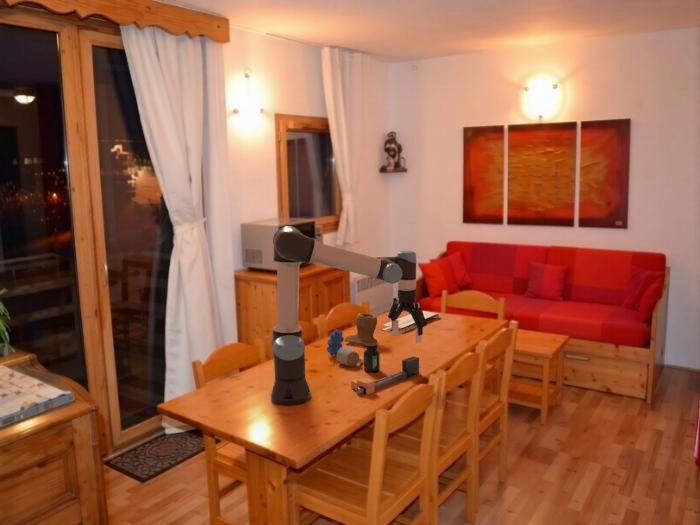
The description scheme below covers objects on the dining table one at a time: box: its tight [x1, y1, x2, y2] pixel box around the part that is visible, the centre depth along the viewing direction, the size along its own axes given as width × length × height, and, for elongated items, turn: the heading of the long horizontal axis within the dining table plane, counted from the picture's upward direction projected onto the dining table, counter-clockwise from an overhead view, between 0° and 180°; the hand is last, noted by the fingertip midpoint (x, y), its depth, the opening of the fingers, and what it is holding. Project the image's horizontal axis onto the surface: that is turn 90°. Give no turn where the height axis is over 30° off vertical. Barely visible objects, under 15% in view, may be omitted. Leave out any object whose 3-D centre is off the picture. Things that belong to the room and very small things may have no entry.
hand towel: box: [381, 310, 440, 334], centre depth 333 cm, size 12×4×40 cm
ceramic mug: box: [336, 345, 363, 367], centre depth 268 cm, size 11×8×8 cm
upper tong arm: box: [356, 356, 417, 396], centre depth 242 cm, size 34×3×7 cm, turn 133°
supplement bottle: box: [363, 343, 381, 374], centre depth 257 cm, size 7×7×12 cm
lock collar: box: [350, 377, 375, 396], centre depth 235 cm, size 4×9×4 cm, turn 43°
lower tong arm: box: [374, 356, 420, 391], centre depth 243 cm, size 30×1×7 cm, turn 133°
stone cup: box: [344, 312, 378, 346], centre depth 298 cm, size 15×12×15 cm
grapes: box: [326, 329, 345, 357], centre depth 281 cm, size 12×7×12 cm, turn 144°
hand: (406, 339), depth 249 cm, fingers open, 13 cm apart
